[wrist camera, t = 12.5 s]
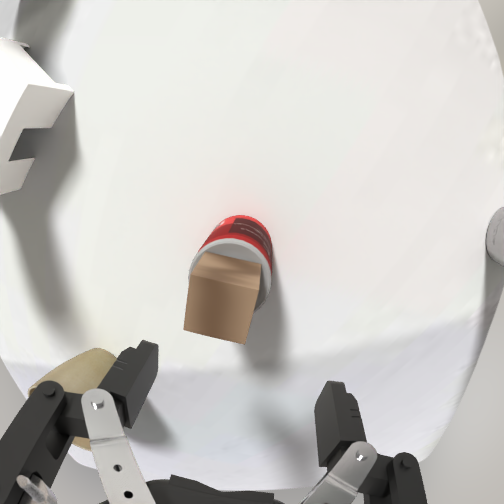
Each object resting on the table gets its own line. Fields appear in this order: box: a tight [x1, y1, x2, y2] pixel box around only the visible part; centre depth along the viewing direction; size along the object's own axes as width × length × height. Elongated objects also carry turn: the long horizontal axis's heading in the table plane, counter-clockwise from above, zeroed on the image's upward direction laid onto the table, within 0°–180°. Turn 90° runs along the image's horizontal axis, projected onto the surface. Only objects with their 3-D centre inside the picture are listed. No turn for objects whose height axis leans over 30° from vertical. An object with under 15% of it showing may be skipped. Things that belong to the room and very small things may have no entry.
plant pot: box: [28, 348, 117, 451], centre depth 38 cm, size 15×15×16 cm
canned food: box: [188, 215, 272, 313], centre depth 31 cm, size 8×8×11 cm
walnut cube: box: [184, 251, 261, 344], centre depth 24 cm, size 5×5×5 cm
